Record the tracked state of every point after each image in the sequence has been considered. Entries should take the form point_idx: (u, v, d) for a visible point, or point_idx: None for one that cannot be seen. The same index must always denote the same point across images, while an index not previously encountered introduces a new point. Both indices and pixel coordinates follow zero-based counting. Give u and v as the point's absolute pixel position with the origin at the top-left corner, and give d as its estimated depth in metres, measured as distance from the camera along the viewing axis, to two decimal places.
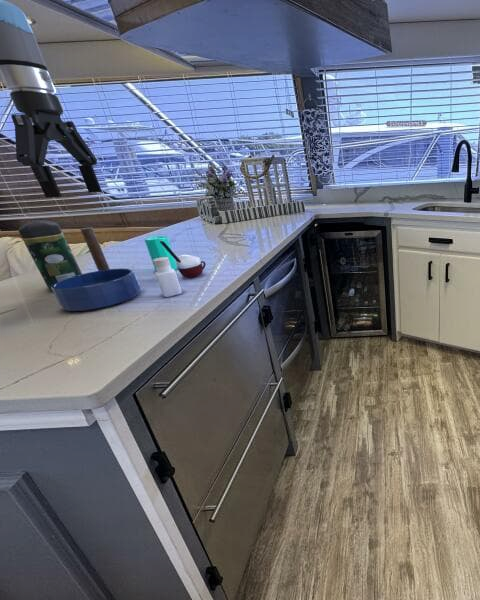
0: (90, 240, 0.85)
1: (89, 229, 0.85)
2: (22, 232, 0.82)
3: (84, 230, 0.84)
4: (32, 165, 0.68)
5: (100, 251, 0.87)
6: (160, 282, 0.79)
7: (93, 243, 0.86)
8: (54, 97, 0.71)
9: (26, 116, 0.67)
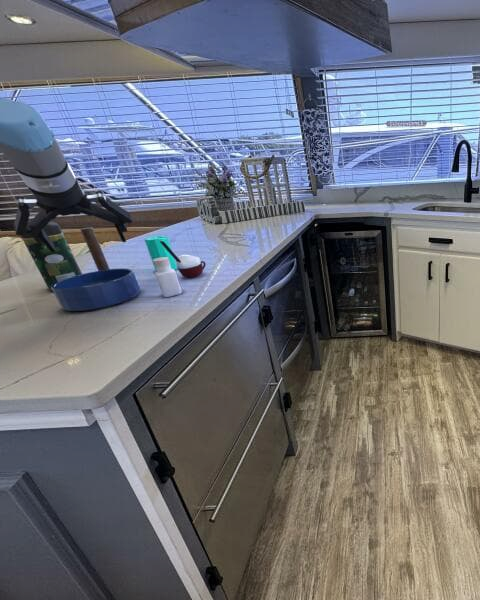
0: (90, 240, 0.85)
1: (89, 229, 0.85)
2: None
3: (84, 230, 0.84)
4: None
5: (100, 251, 0.87)
6: (160, 282, 0.79)
7: (93, 243, 0.86)
8: (56, 198, 0.65)
9: (20, 207, 0.65)
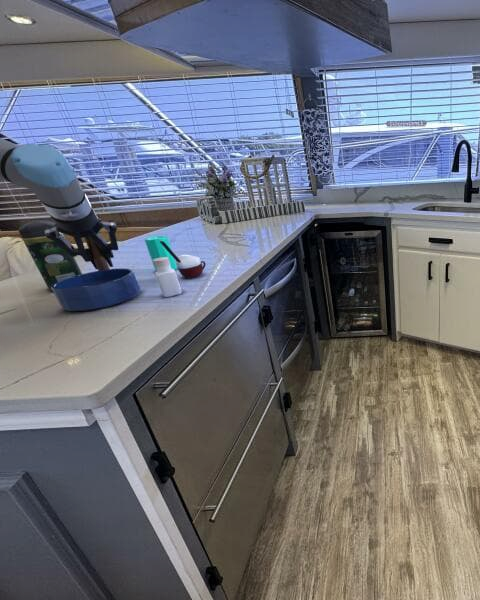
0: (90, 240, 0.85)
1: None
2: (22, 232, 0.82)
3: None
4: None
5: (100, 251, 0.87)
6: (160, 282, 0.79)
7: (93, 243, 0.86)
8: (74, 225, 0.73)
9: (48, 237, 0.75)
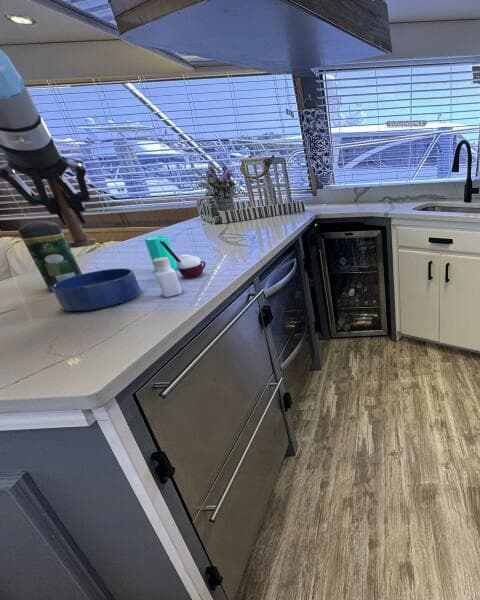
0: (55, 187, 0.71)
1: None
2: (22, 232, 0.82)
3: None
4: None
5: (68, 201, 0.73)
6: (160, 282, 0.79)
7: (59, 191, 0.72)
8: (29, 157, 0.59)
9: None
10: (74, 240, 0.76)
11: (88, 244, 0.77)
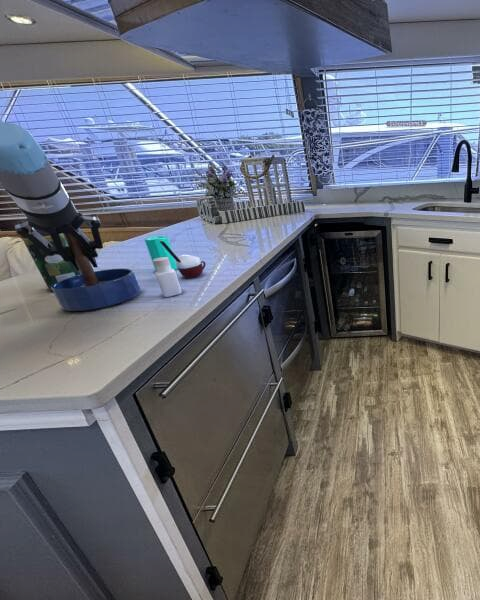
0: (70, 237, 0.75)
1: None
2: None
3: None
4: None
5: (82, 250, 0.77)
6: (160, 282, 0.79)
7: (74, 240, 0.75)
8: (48, 219, 0.63)
9: (19, 233, 0.65)
10: (87, 285, 0.80)
11: None
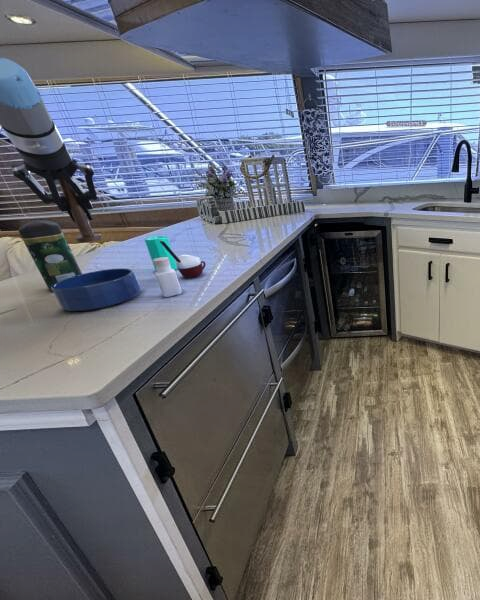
0: (66, 187, 0.78)
1: None
2: (22, 232, 0.82)
3: None
4: None
5: (77, 200, 0.80)
6: (160, 282, 0.79)
7: (69, 190, 0.79)
8: (43, 160, 0.66)
9: (16, 175, 0.68)
10: (82, 235, 0.83)
11: (95, 239, 0.84)
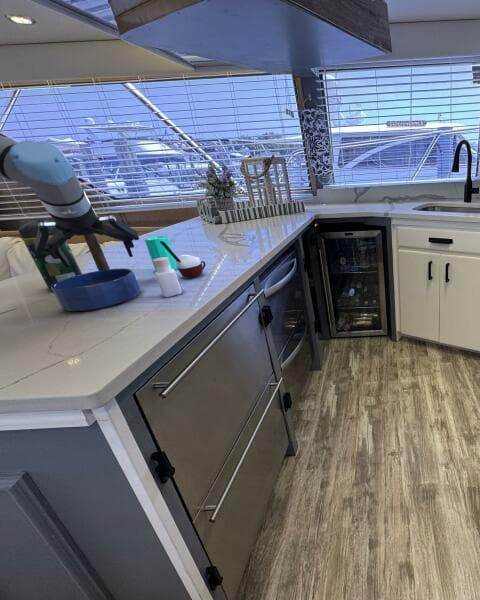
0: (90, 240, 0.85)
1: None
2: (22, 232, 0.82)
3: None
4: None
5: (100, 251, 0.87)
6: (160, 282, 0.79)
7: (93, 243, 0.86)
8: (73, 222, 0.73)
9: (41, 229, 0.73)
10: None
11: None
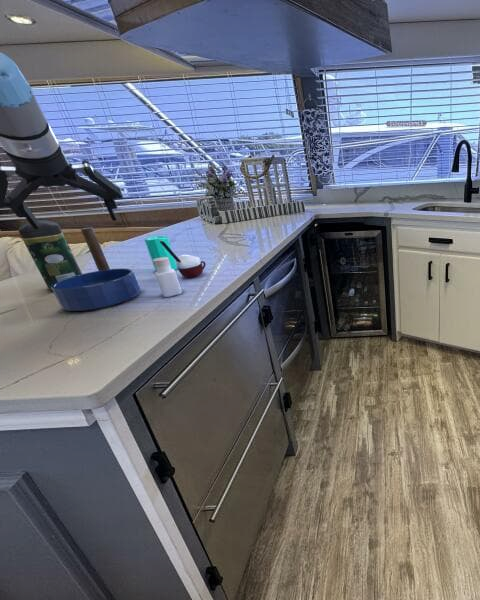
0: (90, 240, 0.85)
1: (89, 229, 0.85)
2: (22, 232, 0.82)
3: (84, 230, 0.84)
4: None
5: (100, 251, 0.87)
6: (160, 282, 0.79)
7: (93, 243, 0.86)
8: (36, 165, 0.59)
9: None
10: None
11: None
